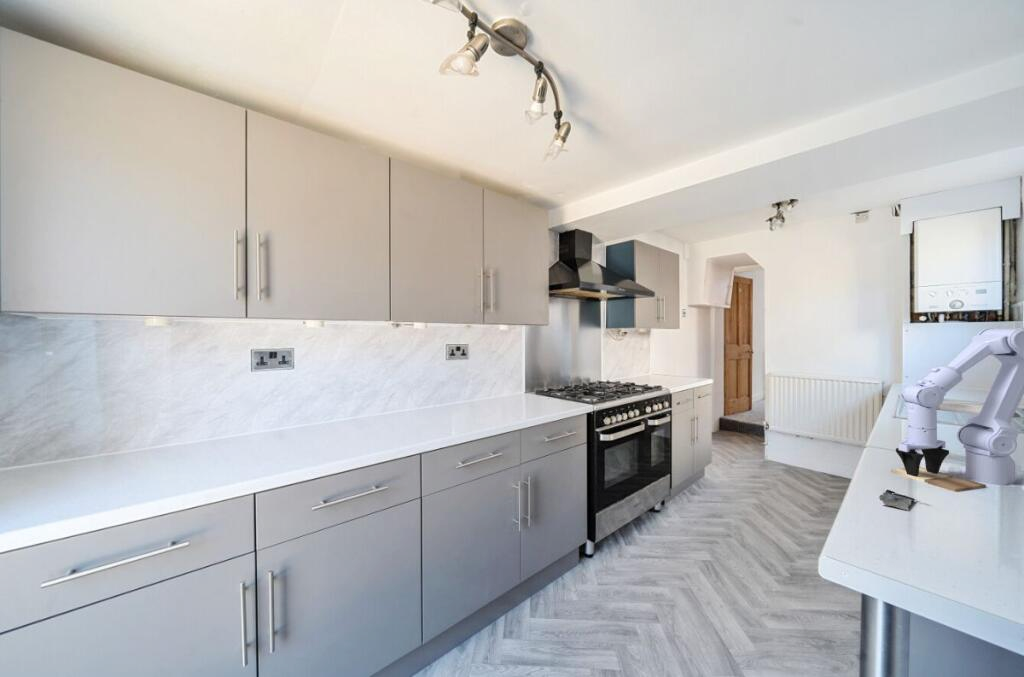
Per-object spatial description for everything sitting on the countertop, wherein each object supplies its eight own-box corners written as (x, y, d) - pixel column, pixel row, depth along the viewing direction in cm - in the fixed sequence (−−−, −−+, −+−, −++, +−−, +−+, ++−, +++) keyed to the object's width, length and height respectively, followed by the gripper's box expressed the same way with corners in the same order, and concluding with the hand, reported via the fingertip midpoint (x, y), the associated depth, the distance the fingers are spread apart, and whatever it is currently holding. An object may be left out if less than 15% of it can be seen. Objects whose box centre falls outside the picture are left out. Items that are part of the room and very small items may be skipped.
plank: (917, 471, 113) (917, 466, 113) (952, 480, 106) (952, 475, 105) (891, 474, 111) (890, 469, 111) (924, 484, 103) (924, 479, 103)
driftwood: (906, 514, 89) (906, 506, 89) (869, 504, 95) (869, 496, 95) (931, 495, 100) (931, 487, 100) (895, 486, 106) (895, 479, 106)
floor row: (913, 471, 114) (913, 464, 114) (985, 491, 99) (985, 484, 99) (885, 474, 112) (885, 468, 112) (955, 496, 97) (955, 489, 97)
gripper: (923, 422, 112) (923, 466, 113) (885, 425, 110) (886, 471, 110) (955, 428, 105) (955, 475, 106) (915, 431, 103) (916, 480, 103)
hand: (922, 474), depth 107 cm, fingers open, 7 cm apart
